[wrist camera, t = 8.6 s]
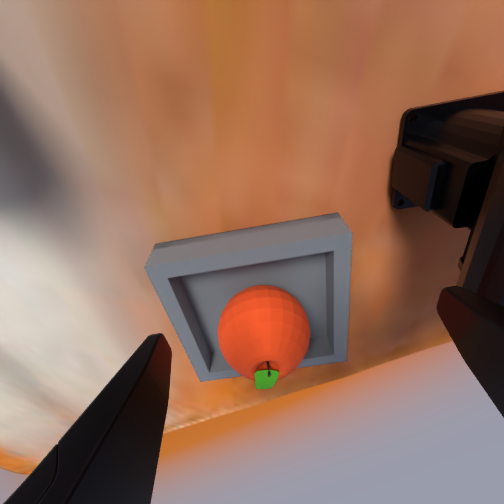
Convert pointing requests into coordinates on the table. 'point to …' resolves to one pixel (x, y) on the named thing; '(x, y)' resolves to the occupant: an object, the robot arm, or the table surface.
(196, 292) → the tray
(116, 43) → the table surface
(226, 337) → the clementine
